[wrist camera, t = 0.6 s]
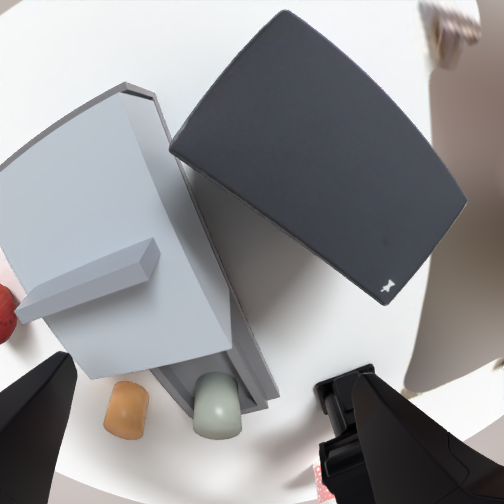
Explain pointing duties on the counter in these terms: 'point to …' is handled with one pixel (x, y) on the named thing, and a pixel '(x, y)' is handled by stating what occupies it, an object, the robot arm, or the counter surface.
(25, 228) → the lid
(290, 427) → the counter surface
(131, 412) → the orange rounded tapered piece
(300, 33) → the small box
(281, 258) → the counter surface
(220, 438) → the housing
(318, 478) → the beverage cup
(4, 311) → the onion
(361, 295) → the counter surface
